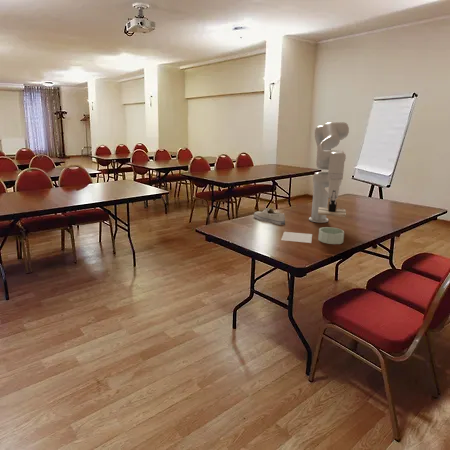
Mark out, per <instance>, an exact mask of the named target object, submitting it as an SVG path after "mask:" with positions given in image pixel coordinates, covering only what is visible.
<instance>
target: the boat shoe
mask: <svg viewBox="0 0 450 450" xmlns="http://www.w3.org/2000/svg"><path fill="white" fill-rule="evenodd" d="M253 217H254V218H255V219H257V220H258V221H265V222H269V223H272V224H275V225H278V226H282V225H283V226H284V225H286V217H285V213H284V212H283V213H280V212H275V210H274V209H273V208H272V207H269V208H268V207H267V208H264V210H263V211H258V210H257V211H255V212H254V213H253Z"/></svg>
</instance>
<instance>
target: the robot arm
mask: <svg viewBox="0 0 450 450" xmlns="http://www.w3.org/2000/svg"><path fill="white" fill-rule="evenodd" d="M349 130H350V127H349V124H348V123H347V122H344V121H343V122H342V121H341V122H340V121H329V122H326V123H324V124H323V125H318V126H316V127H315V129H314V140H315V143H316V147H317V148H316V150H317V151H316V161H315V162H316V165H315V166H316V168H317V169H318V170H322V171H318V172H315V173H314V174H313V176H312V184H313V188H312V189H313V193H312V204H311V216H310V217H308V221H310V222H312V223H316V224H317V223H319V224H324V223H325V224H326V223H328V222H329V218H327V216H328V215H318V209H319V207H327V208H328V205H329V202H330V205H329V212H335V209H336V208H337V206H336V202H337V199H338V198H339V192H340V187H341V185H342V181H343V178H344V171H345V170H344V169H345V162H346V159H347V157H346V153H345V152H344V150H332V149H334V148H336V147H337V146H338V145H340V141H342V140H344V139H346V138H347V137H348V135H349V133H350V131H349ZM323 170H324V171H323ZM326 188H328V190H327V189H326ZM329 199H330V200H329Z"/></svg>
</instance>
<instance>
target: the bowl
mask: <svg viewBox="0 0 450 450" xmlns="http://www.w3.org/2000/svg"><path fill="white" fill-rule="evenodd" d="M344 239H345V231H344V230H343V229H341V228H338V227H330V226H325V227H319V228H318V241H319V242H321V243H324V244H329V245H341V244H344Z"/></svg>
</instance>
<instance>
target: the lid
mask: <svg viewBox="0 0 450 450" xmlns="http://www.w3.org/2000/svg"><path fill="white" fill-rule="evenodd" d="M329 205H330V201H328V205H327V207H319V209H318V215H327V216H329V217H341V218H342V217H343V218H345V217H346V218H347V212H346V211H347V210H346V208H341V207H340V208H338V207H337V206H338V205H337V201H336V209H335V212H329Z"/></svg>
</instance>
